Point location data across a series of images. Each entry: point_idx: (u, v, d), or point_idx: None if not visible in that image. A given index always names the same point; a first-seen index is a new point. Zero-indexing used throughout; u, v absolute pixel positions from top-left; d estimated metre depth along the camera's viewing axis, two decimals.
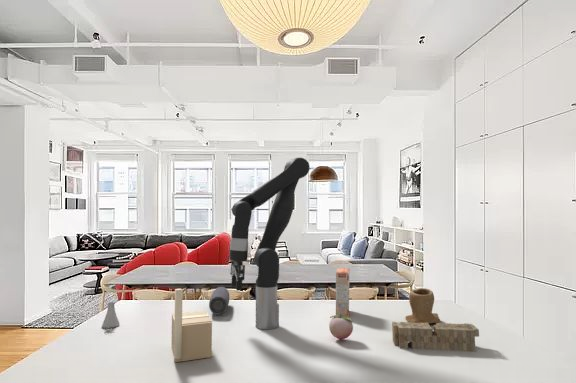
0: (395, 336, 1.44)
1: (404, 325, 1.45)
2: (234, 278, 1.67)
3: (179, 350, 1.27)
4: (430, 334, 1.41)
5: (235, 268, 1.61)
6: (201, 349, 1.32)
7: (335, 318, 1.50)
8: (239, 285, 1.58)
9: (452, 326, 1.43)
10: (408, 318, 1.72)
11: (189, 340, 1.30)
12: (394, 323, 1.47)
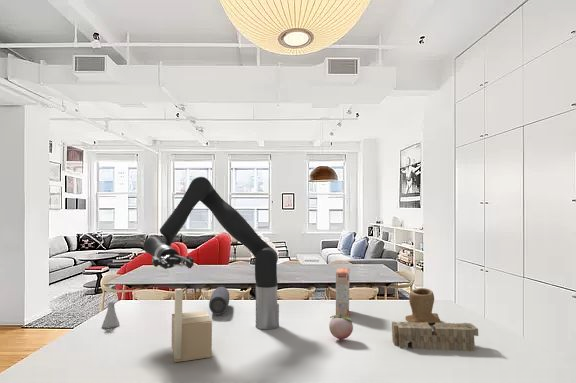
0: (395, 336, 1.45)
1: (404, 325, 1.45)
2: (186, 263, 1.43)
3: (179, 350, 1.27)
4: (430, 334, 1.41)
5: None
6: (201, 349, 1.32)
7: (335, 318, 1.50)
8: (161, 265, 1.37)
9: (451, 326, 1.44)
10: (408, 318, 1.72)
11: (189, 340, 1.30)
12: (394, 323, 1.47)
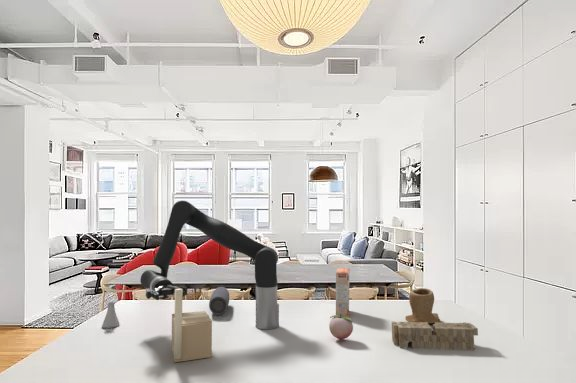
0: (395, 336, 1.45)
1: (403, 325, 1.45)
2: None
3: (179, 350, 1.27)
4: (430, 333, 1.41)
5: (158, 295, 1.44)
6: (201, 349, 1.32)
7: (335, 318, 1.50)
8: (153, 296, 1.37)
9: (451, 325, 1.44)
10: (408, 318, 1.72)
11: (189, 340, 1.30)
12: (394, 323, 1.48)
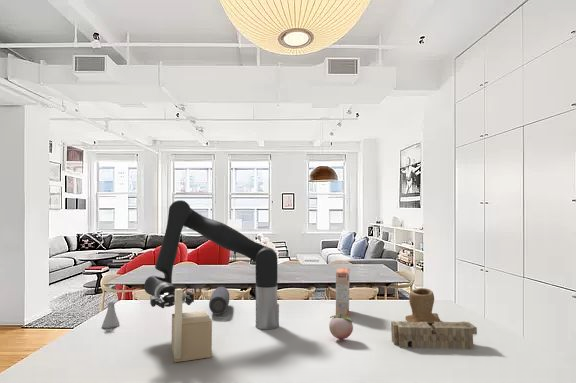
0: (395, 335, 1.45)
1: (403, 324, 1.46)
2: (186, 300, 1.35)
3: (179, 350, 1.27)
4: (429, 333, 1.42)
5: None
6: (201, 349, 1.32)
7: (335, 318, 1.50)
8: (159, 304, 1.29)
9: (450, 324, 1.45)
10: (408, 318, 1.72)
11: (189, 340, 1.30)
12: (393, 323, 1.48)
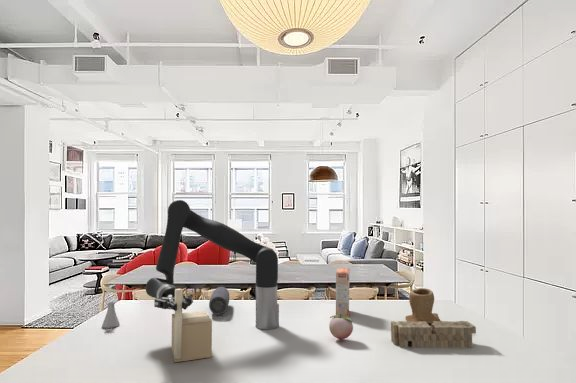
0: (395, 335, 1.45)
1: (403, 324, 1.46)
2: (182, 304, 1.29)
3: (179, 350, 1.27)
4: (429, 332, 1.42)
5: None
6: (201, 349, 1.32)
7: (335, 318, 1.50)
8: (171, 306, 1.26)
9: (449, 324, 1.46)
10: (408, 318, 1.72)
11: (189, 340, 1.30)
12: (393, 323, 1.48)
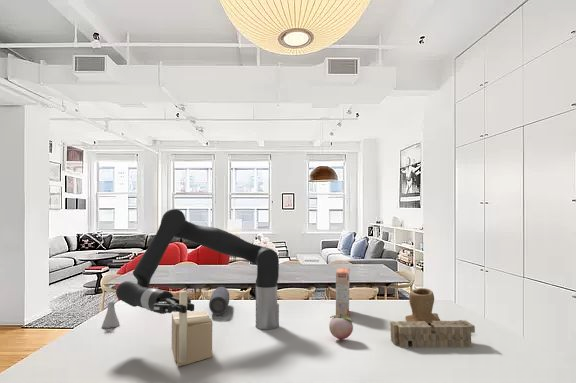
0: (395, 336, 1.45)
1: (403, 324, 1.46)
2: None
3: (185, 353, 1.24)
4: (429, 332, 1.43)
5: (166, 310, 1.27)
6: (202, 350, 1.31)
7: (335, 318, 1.50)
8: (178, 309, 1.23)
9: (449, 323, 1.46)
10: (408, 318, 1.72)
11: (192, 342, 1.28)
12: (393, 323, 1.48)
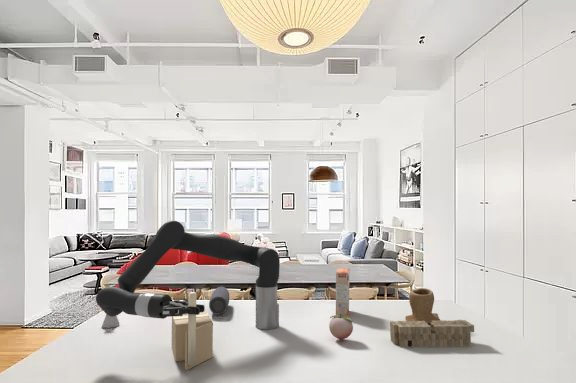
0: (395, 335, 1.45)
1: (403, 324, 1.46)
2: None
3: (195, 355, 1.22)
4: (429, 332, 1.43)
5: None
6: (205, 351, 1.30)
7: (335, 318, 1.50)
8: (191, 311, 1.20)
9: (448, 323, 1.47)
10: (408, 318, 1.72)
11: (197, 343, 1.27)
12: (393, 322, 1.48)
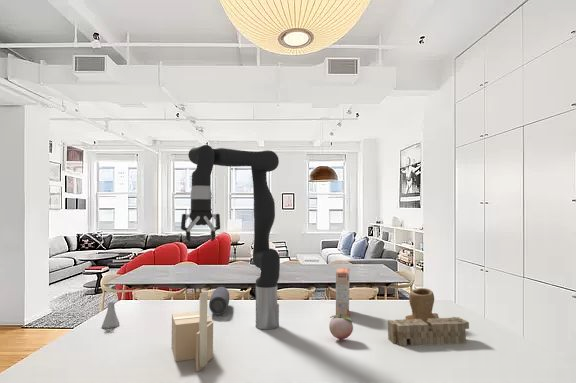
0: (393, 334, 1.47)
1: (401, 323, 1.48)
2: (211, 232, 1.48)
3: (206, 356, 1.22)
4: (427, 330, 1.46)
5: None
6: (209, 351, 1.30)
7: (335, 318, 1.50)
8: (186, 236, 1.45)
9: (444, 320, 1.50)
10: (408, 318, 1.72)
11: None
12: (391, 321, 1.49)
